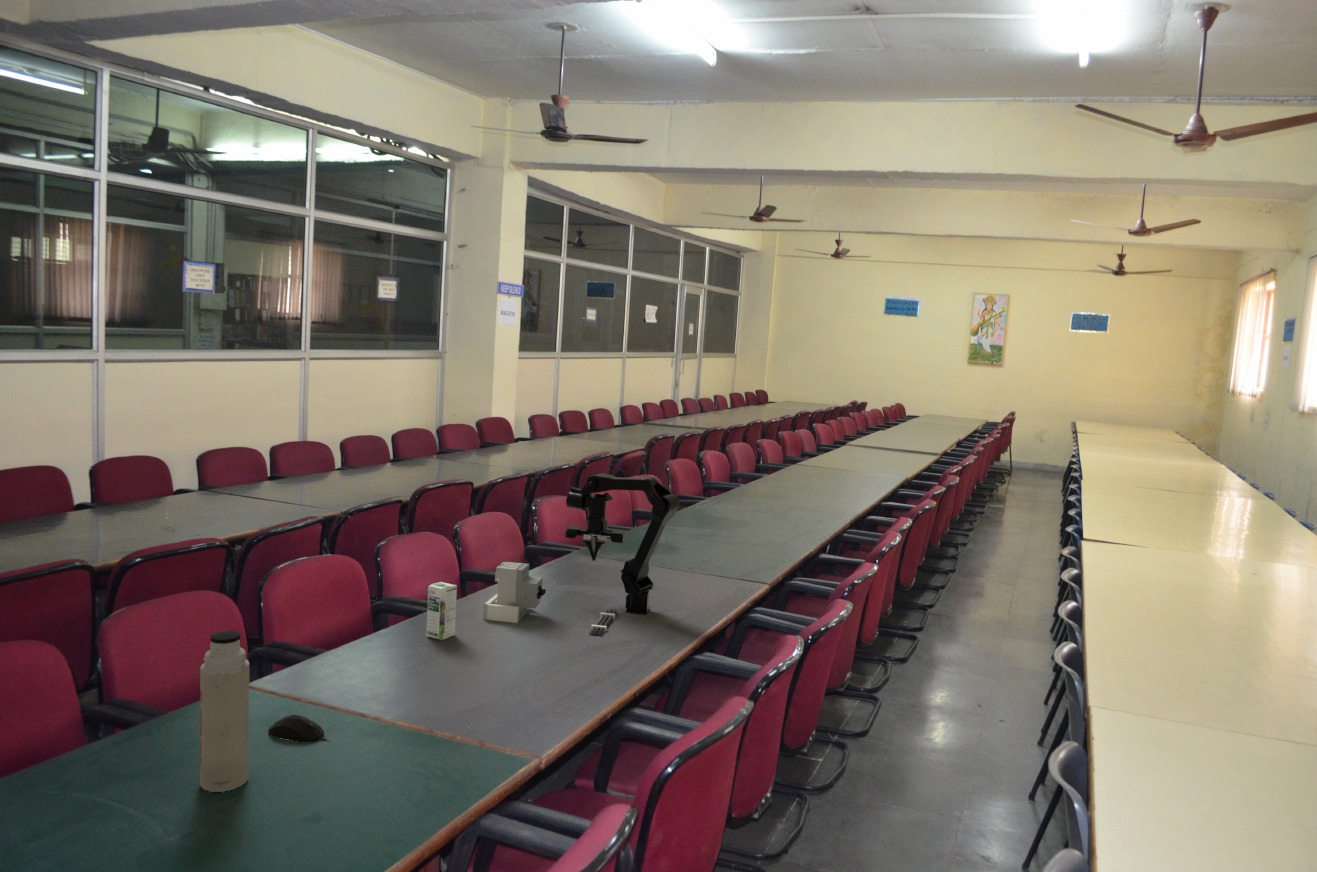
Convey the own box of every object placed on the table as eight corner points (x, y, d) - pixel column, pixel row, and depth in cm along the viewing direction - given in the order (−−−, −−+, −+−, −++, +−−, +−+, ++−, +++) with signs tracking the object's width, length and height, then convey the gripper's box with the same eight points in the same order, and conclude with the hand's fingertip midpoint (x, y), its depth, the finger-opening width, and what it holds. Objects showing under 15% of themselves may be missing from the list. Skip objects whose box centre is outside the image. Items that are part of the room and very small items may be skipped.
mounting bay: (531, 608, 276) (532, 594, 276) (516, 622, 262) (517, 607, 262) (499, 605, 278) (499, 591, 277) (483, 619, 264) (483, 604, 263)
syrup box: (425, 636, 246) (427, 585, 245) (440, 630, 252) (441, 580, 250) (441, 640, 244) (443, 588, 242) (455, 634, 249) (457, 584, 247)
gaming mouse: (323, 750, 179) (323, 731, 179) (261, 736, 183) (261, 717, 183) (342, 737, 185) (343, 718, 185) (282, 724, 189) (282, 706, 189)
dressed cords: (618, 612, 277) (618, 609, 277) (602, 636, 255) (602, 632, 255) (604, 611, 278) (604, 607, 278) (587, 634, 256) (587, 630, 256)
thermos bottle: (192, 792, 160) (192, 641, 157) (210, 770, 168) (211, 626, 164) (238, 793, 160) (239, 642, 157) (254, 771, 168) (256, 627, 165)
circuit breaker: (540, 621, 265) (542, 571, 263) (493, 616, 267) (495, 567, 265) (546, 613, 272) (548, 565, 271) (501, 609, 274) (503, 561, 272)
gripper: (630, 510, 292) (627, 557, 294) (574, 505, 295) (572, 551, 297) (623, 517, 281) (620, 565, 283) (566, 512, 284) (563, 559, 286)
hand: (594, 560), depth 288 cm, fingers closed
